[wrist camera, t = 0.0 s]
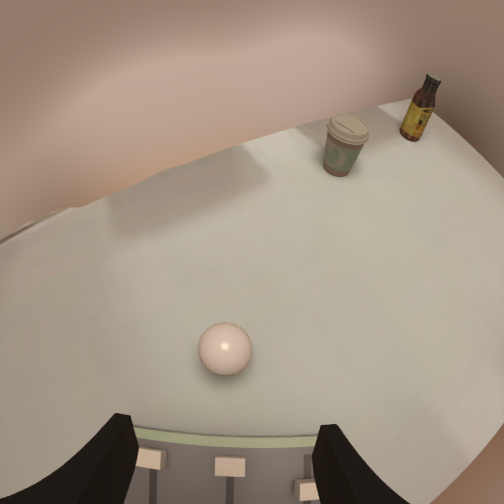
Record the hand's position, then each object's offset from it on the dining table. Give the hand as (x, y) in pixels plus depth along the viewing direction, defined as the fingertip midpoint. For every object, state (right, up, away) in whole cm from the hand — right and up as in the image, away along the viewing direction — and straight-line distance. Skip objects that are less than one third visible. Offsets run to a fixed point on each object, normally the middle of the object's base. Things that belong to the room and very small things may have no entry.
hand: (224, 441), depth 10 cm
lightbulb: (-3, -9, +33) cm, 34 cm away
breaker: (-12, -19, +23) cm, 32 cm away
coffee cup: (+19, +25, +56) cm, 64 cm away
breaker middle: (-2, -20, +24) cm, 31 cm away
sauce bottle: (+44, +39, +66) cm, 89 cm away
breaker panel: (-2, -24, +23) cm, 33 cm away
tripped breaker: (+8, -23, +22) cm, 33 cm away
